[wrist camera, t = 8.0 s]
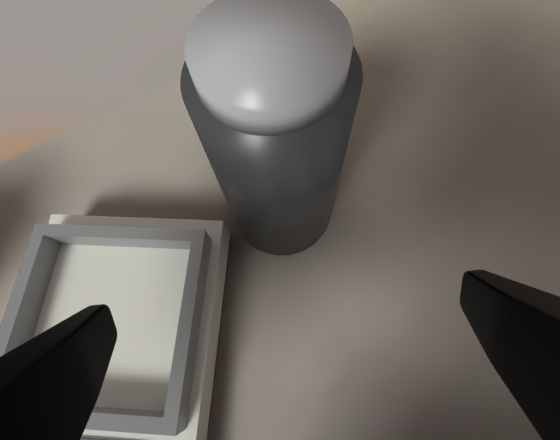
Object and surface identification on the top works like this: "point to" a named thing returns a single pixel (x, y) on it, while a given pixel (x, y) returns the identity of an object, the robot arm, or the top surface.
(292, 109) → the grey cylinder
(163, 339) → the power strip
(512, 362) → the robot arm
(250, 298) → the top surface
